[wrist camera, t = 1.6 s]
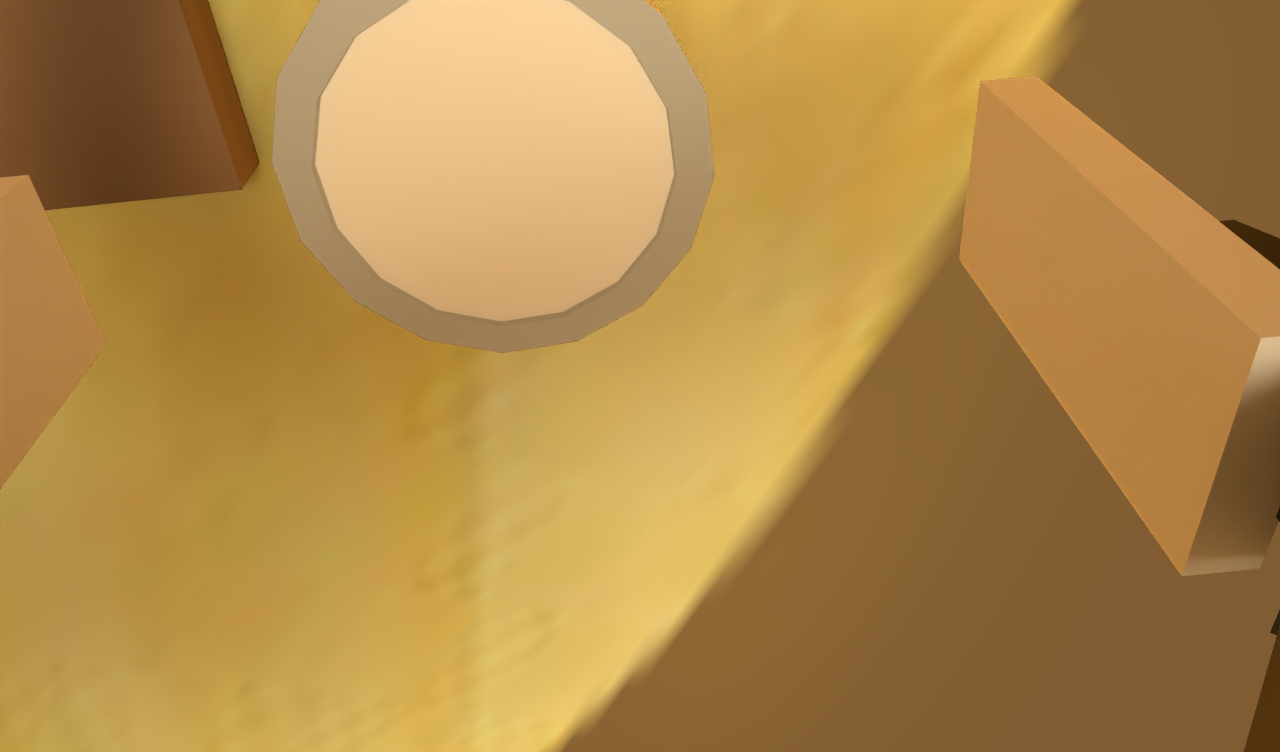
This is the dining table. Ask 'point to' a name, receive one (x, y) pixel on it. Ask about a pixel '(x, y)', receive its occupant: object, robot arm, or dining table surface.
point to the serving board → (118, 101)
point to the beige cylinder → (493, 161)
